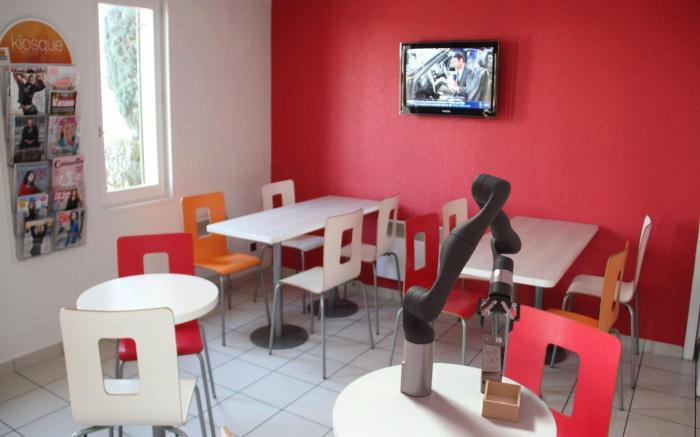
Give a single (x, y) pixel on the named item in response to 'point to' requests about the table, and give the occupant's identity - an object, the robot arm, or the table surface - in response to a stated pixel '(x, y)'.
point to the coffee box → (492, 359)
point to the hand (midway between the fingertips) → (496, 329)
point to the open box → (501, 401)
